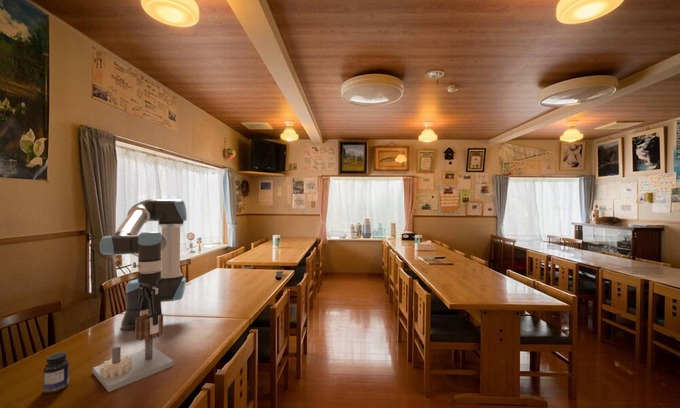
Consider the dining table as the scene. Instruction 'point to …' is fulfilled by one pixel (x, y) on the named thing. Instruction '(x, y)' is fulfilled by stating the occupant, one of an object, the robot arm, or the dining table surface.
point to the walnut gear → (146, 327)
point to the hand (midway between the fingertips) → (149, 329)
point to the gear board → (131, 366)
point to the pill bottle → (56, 373)
